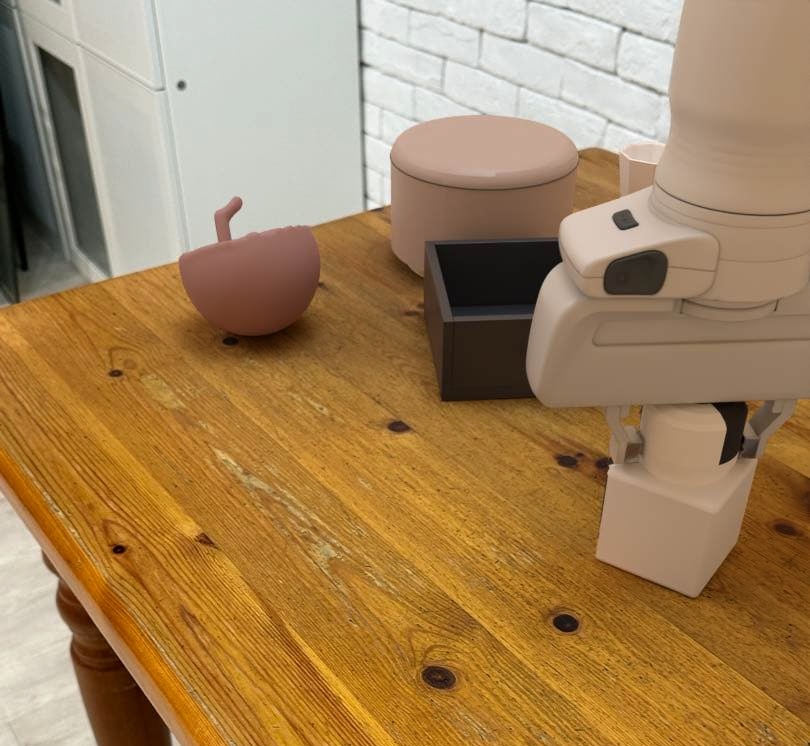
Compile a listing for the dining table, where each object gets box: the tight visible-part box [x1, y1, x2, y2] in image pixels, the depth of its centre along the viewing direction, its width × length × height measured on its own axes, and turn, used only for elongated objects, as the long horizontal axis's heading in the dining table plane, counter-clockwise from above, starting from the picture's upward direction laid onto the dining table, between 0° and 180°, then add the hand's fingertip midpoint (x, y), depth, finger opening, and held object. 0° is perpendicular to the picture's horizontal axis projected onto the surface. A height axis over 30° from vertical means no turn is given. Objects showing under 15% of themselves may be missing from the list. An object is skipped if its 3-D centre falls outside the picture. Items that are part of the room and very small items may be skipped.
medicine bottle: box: [594, 401, 759, 599], centre depth 65 cm, size 7×7×12 cm
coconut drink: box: [177, 195, 321, 337], centre depth 90 cm, size 12×12×12 cm
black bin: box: [423, 237, 563, 402], centre depth 88 cm, size 16×16×7 cm
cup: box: [618, 141, 666, 198], centre depth 110 cm, size 7×10×8 cm
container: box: [389, 114, 580, 278], centre depth 102 cm, size 18×18×12 cm
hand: (683, 456), depth 64 cm, fingers closed on medicine bottle, 6 cm apart
